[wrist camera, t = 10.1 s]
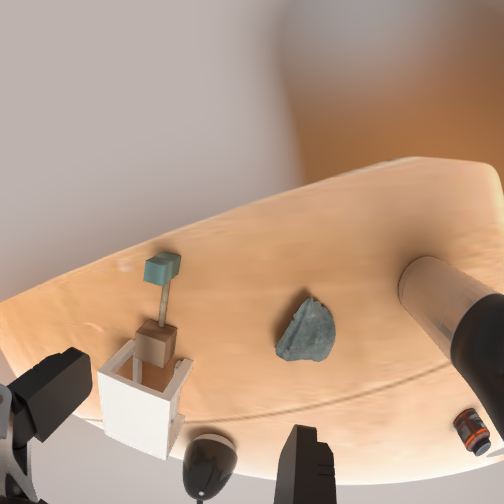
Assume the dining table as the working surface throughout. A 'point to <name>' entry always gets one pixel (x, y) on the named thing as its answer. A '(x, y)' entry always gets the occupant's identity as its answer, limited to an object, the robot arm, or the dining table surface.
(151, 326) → the tethered block
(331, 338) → the stone
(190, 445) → the pump dispenser
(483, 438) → the supplement bottle
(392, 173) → the dining table surface
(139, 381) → the white open frame stand
